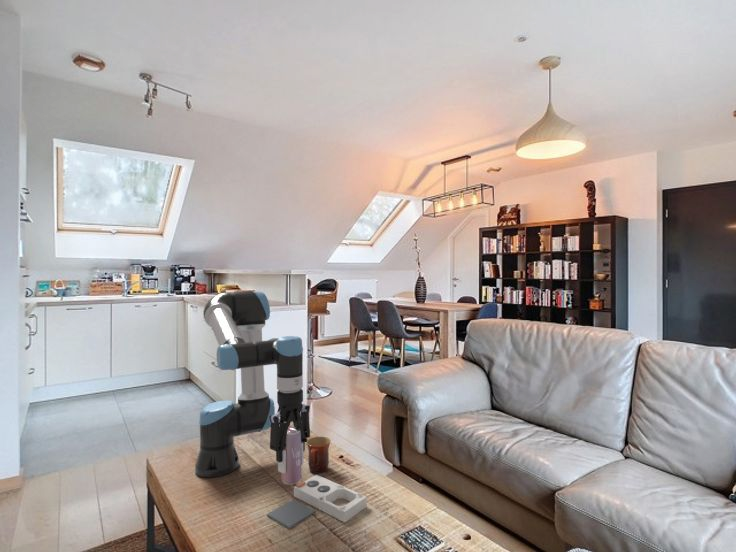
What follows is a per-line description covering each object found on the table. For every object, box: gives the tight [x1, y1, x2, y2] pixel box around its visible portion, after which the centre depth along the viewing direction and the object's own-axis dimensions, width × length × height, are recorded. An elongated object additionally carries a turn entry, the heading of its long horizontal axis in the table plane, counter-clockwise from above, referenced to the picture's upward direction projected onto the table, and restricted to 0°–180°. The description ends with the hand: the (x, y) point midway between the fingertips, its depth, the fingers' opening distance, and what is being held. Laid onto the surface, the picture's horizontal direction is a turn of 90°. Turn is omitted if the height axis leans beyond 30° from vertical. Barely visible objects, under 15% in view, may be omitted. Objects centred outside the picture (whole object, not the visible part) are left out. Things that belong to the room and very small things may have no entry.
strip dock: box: [293, 474, 368, 523], centre depth 130 cm, size 30×11×4 cm, turn 51°
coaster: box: [266, 499, 316, 530], centre depth 121 cm, size 10×10×1 cm
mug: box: [305, 435, 331, 474], centre depth 147 cm, size 12×9×10 cm
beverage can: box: [280, 426, 302, 486], centre depth 121 cm, size 6×6×15 cm
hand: (291, 467), depth 121 cm, fingers closed on beverage can, 6 cm apart
